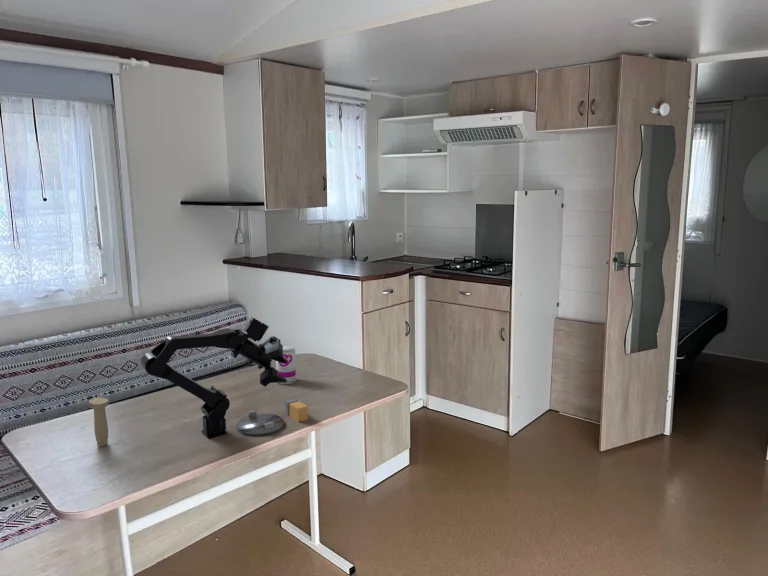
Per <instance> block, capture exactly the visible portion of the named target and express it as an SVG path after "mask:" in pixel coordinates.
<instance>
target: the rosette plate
mask: <svg viewBox="0 0 768 576" xmlns="http://www.w3.org/2000/svg"><path fill="white" fill-rule="evenodd" d="M284 423H285V420H284V419H283V417H282V416H280V415H278V414H273V413H257V410H255V409H254V410H252V411H248V412H247V416H244V417H242V418H241V419H239V420H238V421H237V422H236V430H237V432H238V433H240V434H242V435H244V436H250V437H256V436H257V437H262V436H267V435H272V434H274V433H277V432H279V431H281V430H282V429H283V427H284Z"/></svg>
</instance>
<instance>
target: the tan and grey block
mask: <svg viewBox="0 0 768 576" xmlns="http://www.w3.org/2000/svg"><path fill="white" fill-rule="evenodd" d="M284 404H285V405H284V406H285V415H286V416H288V417H289V418H291V419H292V420H294V421H295V420H296V421H295V422H297V423H300V422H299V421H301V422H304V421H307V419H309V417H308V415H309V413H308V412H309V410H308V409H309V408H308V407H309V406H308V405H307V404H305V403H303V402H301V401H299V400H298V399H296V398H292V399H289V400H286V401H285V402H284Z"/></svg>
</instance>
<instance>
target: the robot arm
mask: <svg viewBox="0 0 768 576" xmlns="http://www.w3.org/2000/svg"><path fill="white" fill-rule="evenodd" d="M269 328H270V326H269V325H267V324H266V323H264V322H262V321H260V320H259V319H256V318H254V317H251V318H249V322H248V323H247V325H246V326H245V328H244V329H242V328H237V329H232V328H230V327H229V328H228V327H227V328H223V329H218V330H215V331H212V332H210V333H200V334H186V335H168V336H167V337H165V339H163V341H162V342H160V343H158V344H157V345H156V346H155V347H154V348H152V350H150V351H149V352H147V353H145V354H144V355H142V357H141V359H140V365H141V367H142V368H143V370H144V371H145V372H146V373H147V374H148V375H150V376H152V377H153V376H154V377H156V378H158V379H163V380H167V381H169V382H171V383H172V384H173V385H176V386H177V387H179V388H181V389H183V390H184V391H186V392H188V393H190V394H191V395H193V396H195V397H197V398H198V399H200V400H202V401H203V402H204V404H202V406H201V407H200V411H201V412H202V414H203V415H202V428H203V429H202V430H201V433H202V434H203V435H204V436H205V437H206V438H208V439H212V438H215V437H219V436H222V435H226V434H227V433H228V432H227V431H226V430H227V422H226V421H227V420H226V418H225V416H226V413H227V411H228V410H229V409H230V407H231V406H230V405H231V402H230V400H229V399H228V398H227V397H228V395H227V394H226V393H225V392H224V391H223V390H221V389H218V388H216V387H215V386H214V385H212V384H211V387H210V388H209V387H205V386H203V385H202V384H201V383H198V382H197V381H195V380H194V379H192V378H190V377H188V376H187V375H186V374H183V373H182V372H180V371H178V370H176V369H175V368H173V367H171V366H170V364H168V363H169V362H170V360H171V358H172V356H174V354H175V353H176V352H177V350H186V349H187V350H188V349H199V348H210V347H213V348H214V347H215V348H220V349H227V350H229V351H230V357H232V358H234V359H236V358H237V357H238V356H239V355H240V356H241V357H243V358H245V359H246V360H248V364H250V365H251V364H253V363H254V364H255V365H257V368H258V369H259V370H261V369H262V368H263V369H264V370H263V371H262V372H261V373H259V384H260V385H261V386H263V387H267V386H268V385H269V384H273V383H277V384H280V383H286V382H287V380H286V379H285V378H284V377H282V376H281V375H279V374H278V370H276V367H273V366H272V361H275V362H276V361H278V362H281V363H284V364H286V363H287V361H286V360H285V358H284V357H283V356H282V354H283V346H282V345H283V344H282V343H281V339H280V338H278V337H276V336H274V335H271V336H269V338H268V339H266V340H265V341H264V342H262V343H259V344H256V343H257V342H260V341H261V340H262V339H263V337H264V336H265V334H266V332H267V331H268V329H269ZM249 339H250V340H249ZM254 342H256V343H254Z"/></svg>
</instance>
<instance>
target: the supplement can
mask: <svg viewBox="0 0 768 576" xmlns="http://www.w3.org/2000/svg"><path fill="white" fill-rule="evenodd" d="M282 346H283V354H282V356H283V357H284V358H285V360H286V361H287V363H286V364H284V363H281V362H278V361H275V369H276V370H278V374H279V375H281V376H282V377H284V378H285V379H286V380H287V382H286V383H279V384H280V385H291V384H294V383H295V382H296V380H297V368H296V367H297V365H296V349H295V347H294V346H293V345H291V344H282Z"/></svg>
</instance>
